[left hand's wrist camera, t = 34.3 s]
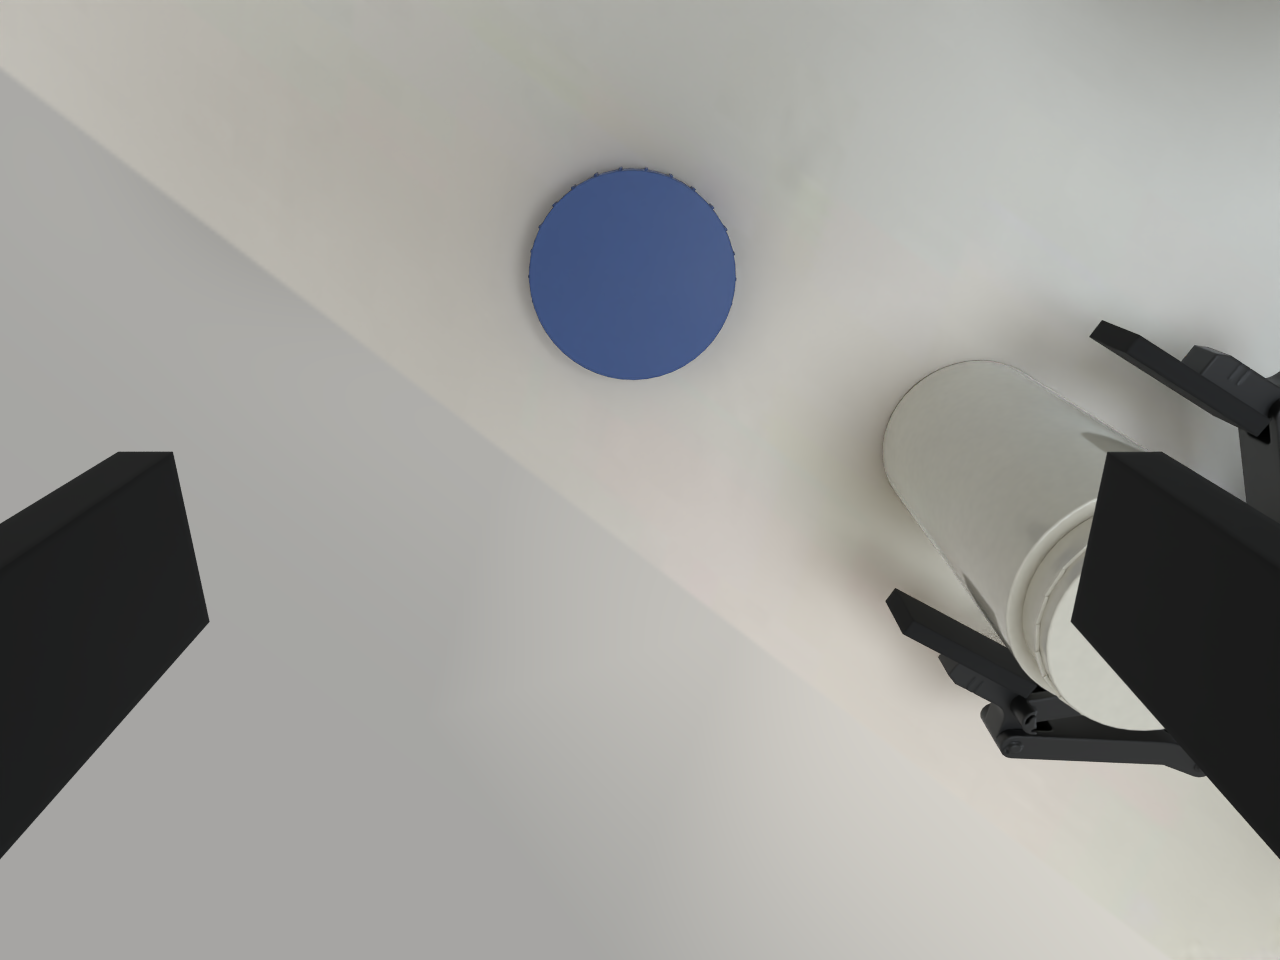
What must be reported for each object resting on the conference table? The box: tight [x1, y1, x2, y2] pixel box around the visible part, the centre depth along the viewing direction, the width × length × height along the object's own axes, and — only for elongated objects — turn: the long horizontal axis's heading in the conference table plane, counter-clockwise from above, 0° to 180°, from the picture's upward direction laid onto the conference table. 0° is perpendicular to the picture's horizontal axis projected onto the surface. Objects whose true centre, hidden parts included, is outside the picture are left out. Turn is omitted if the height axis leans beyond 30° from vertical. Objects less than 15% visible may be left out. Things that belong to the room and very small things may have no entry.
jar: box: [883, 360, 1165, 731], centre depth 33 cm, size 8×8×17 cm
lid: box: [528, 167, 736, 380], centre depth 37 cm, size 9×9×2 cm
